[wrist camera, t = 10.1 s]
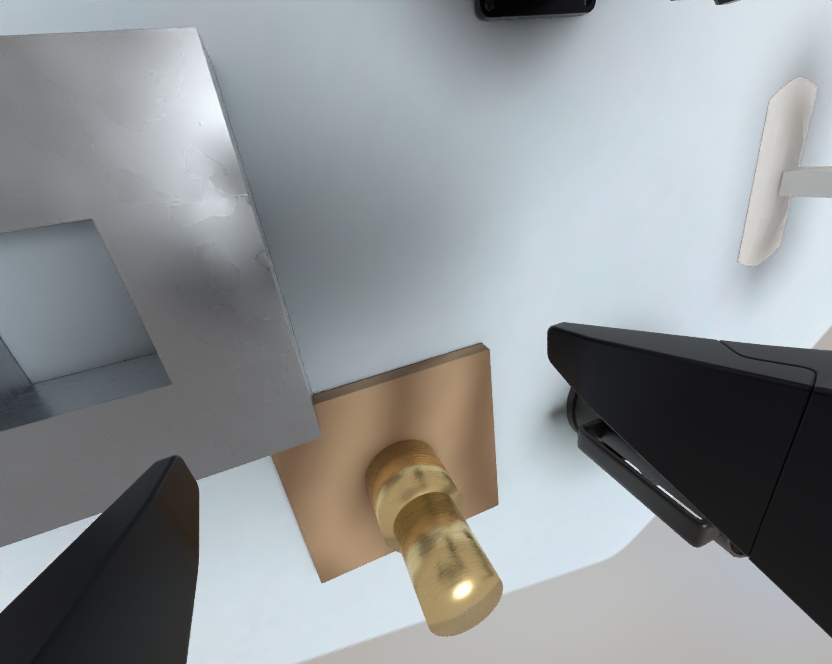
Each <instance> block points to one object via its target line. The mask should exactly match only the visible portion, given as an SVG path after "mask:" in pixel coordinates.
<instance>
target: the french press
mask: <svg viewBox="0 0 832 664" xmlns="http://www.w3.org/2000/svg"><path fill="white" fill-rule="evenodd" d="M567 414H568V419H569V422H570V425H571V426H572V428H573V429H574V431H575V432H577V433H578V448H579V449H580V450H581V451H583V452H584V453H585V454H586V455H587V456H588V457H589V458H591V459H592V460H593V461H594V462H595V463H596V464H598V465H599V466H600V467H601V468H602V469H603V470H605V471H606V472H607V473H608V474H609V475H610V476H611V477H613V478H614V479H615V480H616V481H617V482H618V483H620V484H621V485H622V486H623V487H624V488H625V489H626V490H628V491H629V492H630V493H631V494H632V495H633V496H635V497H636V498H637V499H638V500H639V501H640V502H641V503H643V504H644V505H645V506H646V507H647V508H648V509H650V510H651V511H652V512H653V513H654V514H655V515H657V516H658V517H659V518H660V519H661V520H662V521H663V522H665V523H666V524H667V525H668V526H669V527H670V528H672V529H673V530H674V531H675V532H676V533H678V535H680V536H681V537H682V538H683V539H684V540H685V541H687V542H688V543H689V544H690V545H692V546H693V547H701V546H703V545H705V544H707V543H709V542H710V541H712V540H714V541H715V542H717V543H718V544H719V545H720V546H722V547H723V548H724V549H725V550H726V551H728V552H729V553H730V554H731V555H733V556H734V557H739V558H741V557H748V556H746V555H744V554H743V553H742V552H741V551H740V550H739V549H738V548H737V547H736V546H735V545H734V544H733V543H732V542H731V541H730V540H729V539H728V538H727V537H725V536H724V535H723V534H722V533H721V532H720V531H719V530H718V529H717V528H716V527H715V526H714V525H713V524H712V523H711V522H710V521H709V520H708V519H707V518H706V517H704V516H703V515H702V514H701V513H700V512H699V511H698V510H697V509H696V508H695V507H694V506H693V505H692V504H691V503H690V502H689V501H688V500H687V499H686V498H685V497H683V496H682V495H681V494H680V493H679V492H678V491H677V490H676V489H675V488H674V487H673V486H672V485H671V484H670V483H669V482H668V481H667V480H666V479H665V478H663V477H662V476H661V475H660V474H659V473H658V472H657V471H656V470H655V469H654V468H653V467H652V466H651V465H650V464H649V463H648V462H647V461H646V460H645V459H644V458H642V457H641V456H640V455H639V454H638V453H637V452H636V451H635V450H634V449H633V448H632V447H631V446H630V445H629V444H628V443H627V442H626V441H625V440H624V439H622V438H621V437H620V436H619V435H618V434H617V433H616V432H615V431H614V430H613V429H612V428H611V427H610V426H609V425H608V424H607V423H606V422H605V421H604V420H603V419H601V418H600V417H599V416H598V415H597V414H596V413H595V412H594V411H593V410H592V409H591V408H590V407H589V406H588V405H587V404H586V403H585V402H584V401H583V400H582V398H581V397H580V396H579V395H578V394H577V393H576V392H575V390H574V389H573V388H571V391H570V394H569V398H568V405H567ZM624 460H628V461H629V462H630V463H632V464H633V465H634V466H635V467H637V468H638V469H639V471H640V472H641V473H642V474H641V473H639V472H638V471H637V470H636V469H634V468H633V467H632V466H630V465H629V464H628V463H627V462H625V461H624ZM656 485H660V486H661V487H662V488H663V489H665V490H666V491H667V492H669V493H670V494H671V495H672V496H674V497H675V498H676V499H678V500H679V501H680V502H681V503H683V504H684V505H685V506H686V507H688V508H689V509H690V510H692V511H693V512H694V513H695V514H697V515H698V516H699V517H701V518H702V519H701V520H700V519H699V518H697V517H695V516H694V515H692V514H691V513H690V512H689V511H687V510H686V509H685V508H684V507H682V506H681V505H680V504H678V503H677V502H676V501H675V500H673V499H672V498H671V497H670V496H668V495H667V494H666V493H665V492H663V491H662V490H661V489H660V488H658V487H657V486H656Z"/></svg>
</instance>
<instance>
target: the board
mask: <svg viewBox="0 0 832 664" xmlns="http://www.w3.org/2000/svg"><path fill="white" fill-rule="evenodd" d="M313 399H314V403H315V408H316V412H317V416H318V421H319V425H320V429H321V434H322V438H319V439H316V440H313V441H310V442H307V443H304V444H301V445H298V446H295V447H292V448H289V449H287V450H284V451H281V452H278V453H275V454H272V455H271V456H272V458H273V461H274V464H275V466H276V469H277V471H278V474H279V476H280V479H281V481H282V484H283V486H284V489H285V492H286V494H287V497H288V499H289V502H290V504H291V507H292V509H293V512H294V514H295V517H296V520H297V522H298V525H299V527H300V530H301V532H302V535H303V537H304V540H305V542H306V545H307V547H308V550H309V553H310V555H311V558H312V560H313V563H314V565H315V568H316V570H317V573H318V575H319V578H320V581H321V583H324V582H326V581H329V580H331V579H333V578H335V577H338V576H340V575H342V574H344V573H347V572H349V571H351V570H353V569H356V568H358V567H360V566H362V565H365V564H367V563H369V562H371V561H374V560H376V559H378V558H380V557H383V556H385V555H387V554H389V553H392V552H394V550H392V549H391V548H390V547H389V546H388V545H387V544H386V543H385V541H384V538H383V535H382V532H381V529H380V526H379V523H378V520H377V517H376V515H375V512H374V509H373V506H372V503H371V500H370V497H369V494H368V491H367V488H366V484H365V476H366V471H367V469H368V466H369V465H370V463H371V461H372V460H373V459H374V457H375V456H376V455H377V454H378V453H379V452H380V451H382V450H383V449H384V448H386V447H387V446H389V445H391V444H393V443H396V442H399V441H402V440H409V439H414V440H420V441H423V442H425V443H427V444H429V445H430V446H431V447H432V448H433V449H434V451H435V453H436V454H437V456H438V457H439V459H440V460H441V462H442V464H443V465H444V467H445V468H446V470H447V471H448V473H449V475H450V476H451V478H452V479H453V481H454V483H455V484H456V486H457V487H458V489H459V490H460V492H461V494H462V495H463V498H464V505H465V506H464V512H463V517H464V519H465V520H466V519H468V518H470V517H472V516H475V515H477V514H479V513H481V512H484V511H486V510H488V509H490V508H493V507H495V506H497V505H498V488H497V471H496V454H495V436H494V419H493V402H492V384H491V367H490V350H489V348H487V347H486V346H485V345H483V344H482V343H480V344H477V345H473V346H470V347H467V348H464V349H461V350H457V351H454V352H451V353H448V354H444V355H441V356H438V357H435V358H432V359H428V360H425V361H422V362H419V363H415V364H412V365H409V366H406V367H403V368H399V369H396V370H393V371H390V372H386V373H383V374H380V375H377V376H374V377H370V378H367V379H364V380H361V381H357V382H354V383H351V384H348V385H345V386H341V387H338V388H335V389H332V390H328V391H325V392H322V393H319V394H316V395H313Z"/></svg>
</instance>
